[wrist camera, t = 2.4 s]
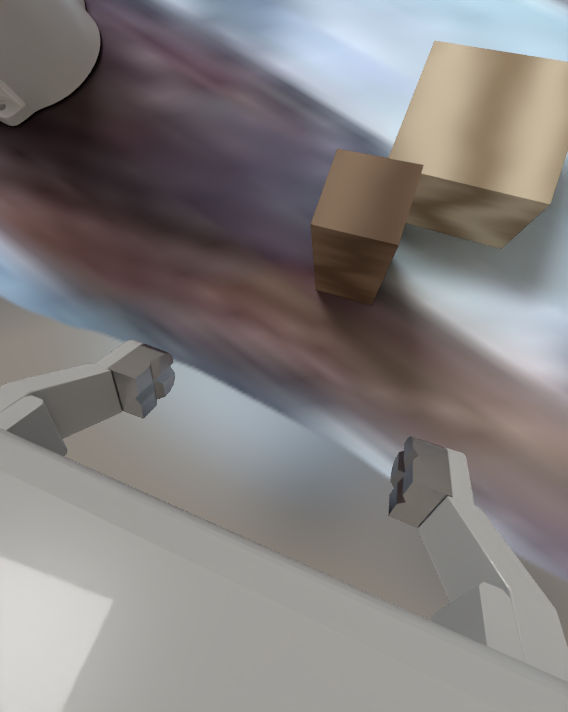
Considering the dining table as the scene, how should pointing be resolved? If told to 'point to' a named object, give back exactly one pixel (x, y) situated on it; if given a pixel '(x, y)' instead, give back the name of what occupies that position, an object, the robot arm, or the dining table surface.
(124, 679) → the robot arm
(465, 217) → the beech block
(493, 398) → the dining table surface
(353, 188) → the walnut pillar
